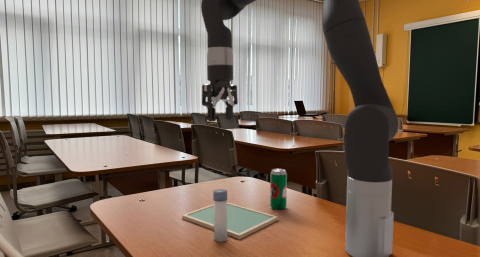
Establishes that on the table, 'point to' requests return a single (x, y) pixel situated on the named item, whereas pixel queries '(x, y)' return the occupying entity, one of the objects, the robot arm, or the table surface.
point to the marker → (220, 215)
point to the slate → (233, 219)
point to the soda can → (278, 189)
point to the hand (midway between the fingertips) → (220, 120)
